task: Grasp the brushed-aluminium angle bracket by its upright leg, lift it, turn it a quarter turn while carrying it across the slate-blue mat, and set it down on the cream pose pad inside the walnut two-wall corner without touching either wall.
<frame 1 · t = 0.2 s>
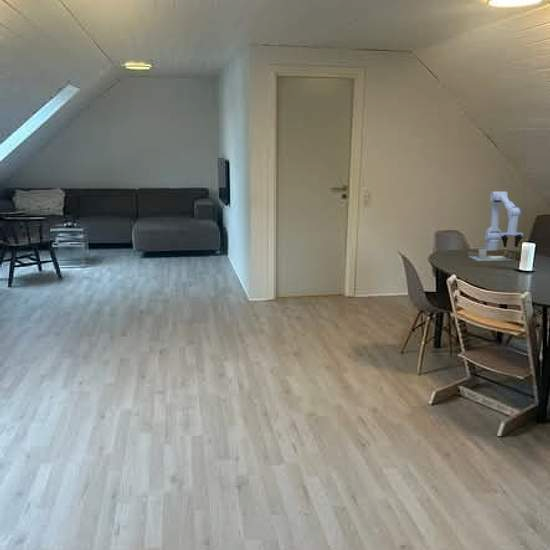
hand: (510, 246, 368), 10 cm above the table, tool pointing down, fingers open, 7 cm apart
bracket: (484, 259, 375), resting on mat
walls: (490, 258, 379), resting in mat
mat: (490, 258, 379), on the table
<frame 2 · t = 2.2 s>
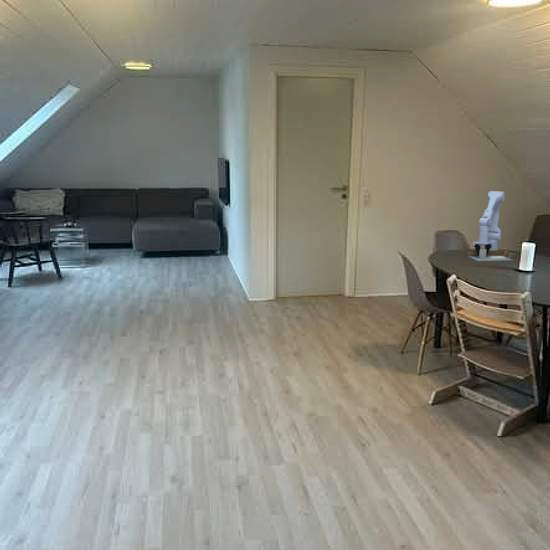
hand: (481, 255, 379), 2 cm above the table, tool pointing down, fingers closed on bracket, 5 cm apart
bracket: (484, 259, 375), resting on mat, touching gripper
when the fingers open (4 cm above the table, at t = 5.6 s): bracket stays where it is, resting on mat.
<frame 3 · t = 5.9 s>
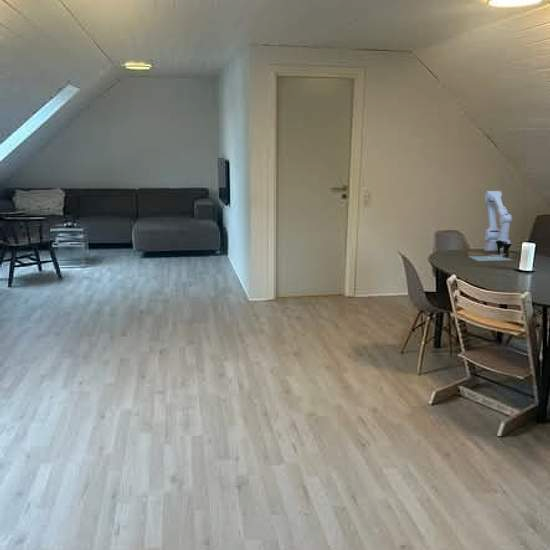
hand: (502, 252, 380), 4 cm above the table, tool pointing down, fingers open, 7 cm apart
bracket: (496, 257, 381), point 1 cm above the table, touching mat
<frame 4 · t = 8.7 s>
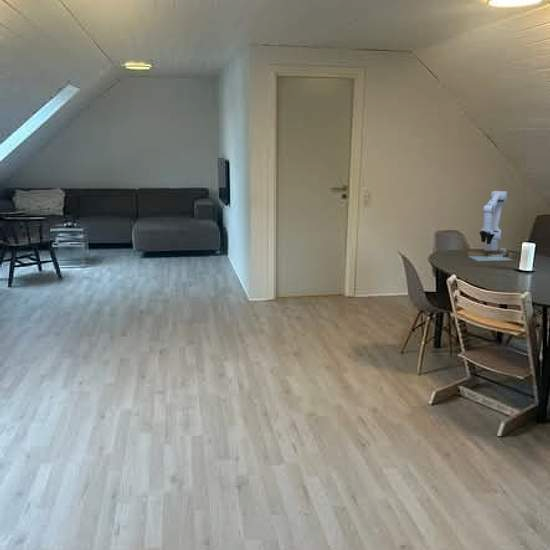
hand: (486, 242, 379), 10 cm above the table, tool pointing down, fingers open, 7 cm apart
nothing on the table moved.
at the end: bracket 0.2 cm from the target spot, point 0.6 cm above the table; bracket tilted 0°; bracket touching mat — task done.
